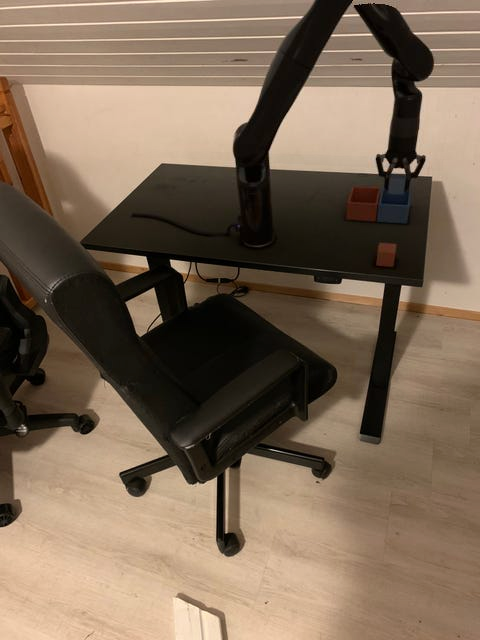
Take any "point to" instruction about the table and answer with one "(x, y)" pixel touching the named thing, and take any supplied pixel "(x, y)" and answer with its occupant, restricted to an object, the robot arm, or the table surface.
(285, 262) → the table surface
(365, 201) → the terracotta bin
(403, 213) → the blue bin
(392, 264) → the terracotta block
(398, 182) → the blue block
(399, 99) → the robot arm
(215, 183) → the table surface
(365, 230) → the table surface
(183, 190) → the table surface
